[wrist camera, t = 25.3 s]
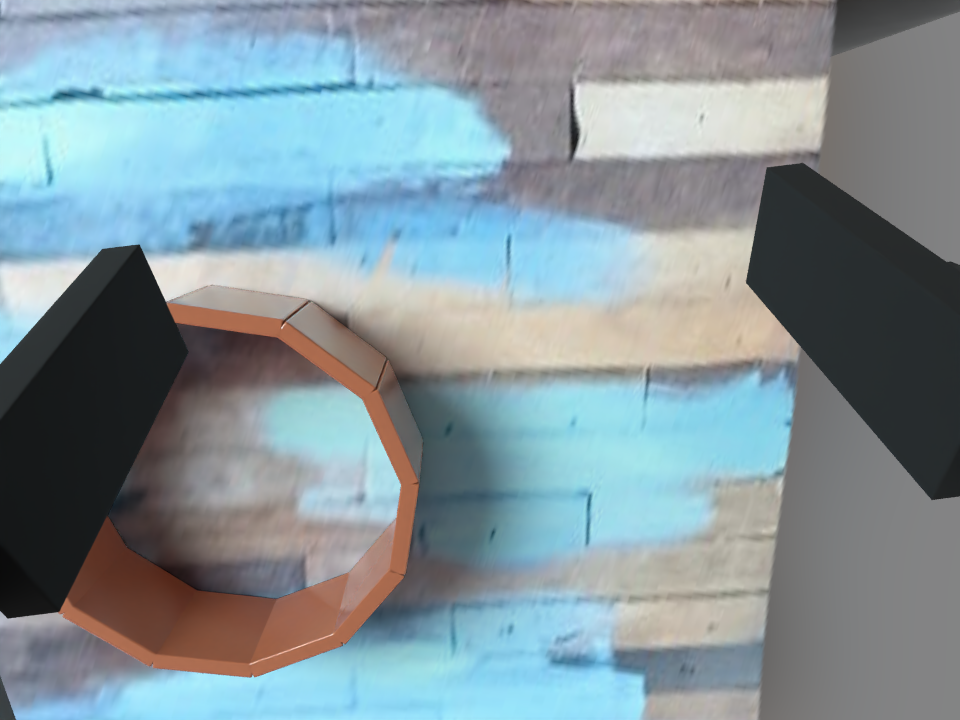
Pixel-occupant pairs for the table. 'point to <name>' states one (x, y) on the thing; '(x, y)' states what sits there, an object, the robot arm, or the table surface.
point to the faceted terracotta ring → (248, 619)
